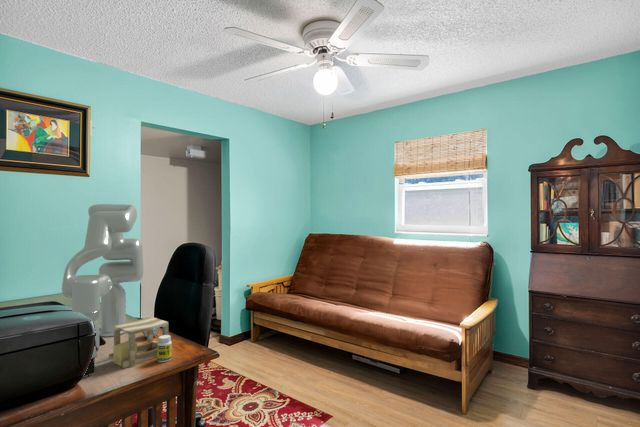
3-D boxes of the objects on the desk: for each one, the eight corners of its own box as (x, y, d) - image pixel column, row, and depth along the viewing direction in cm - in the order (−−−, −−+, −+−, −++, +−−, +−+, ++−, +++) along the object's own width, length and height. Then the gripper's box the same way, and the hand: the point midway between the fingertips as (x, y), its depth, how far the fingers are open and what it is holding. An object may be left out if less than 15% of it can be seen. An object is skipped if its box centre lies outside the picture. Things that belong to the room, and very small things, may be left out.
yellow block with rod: (77, 374, 113) (77, 353, 114) (129, 357, 127) (129, 338, 127) (84, 378, 110) (84, 356, 110) (136, 360, 124) (137, 341, 124)
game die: (145, 346, 148) (131, 328, 148) (161, 333, 155) (147, 316, 155) (153, 340, 143) (138, 321, 143) (170, 327, 150) (155, 309, 150)
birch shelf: (108, 360, 124) (108, 327, 124) (151, 346, 137) (151, 316, 138) (124, 369, 117) (124, 333, 118) (168, 353, 131) (168, 321, 131)
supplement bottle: (156, 363, 122) (156, 339, 122) (157, 358, 126) (157, 335, 126) (171, 361, 124) (171, 337, 124) (171, 356, 128) (171, 333, 128)
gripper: (62, 315, 115) (62, 370, 115) (84, 324, 106) (84, 384, 105) (87, 310, 121) (87, 362, 121) (110, 318, 112) (110, 375, 112)
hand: (86, 372), depth 113 cm, fingers closed on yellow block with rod, 3 cm apart
